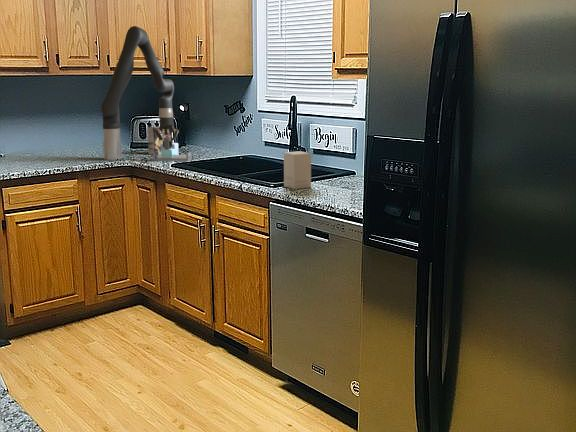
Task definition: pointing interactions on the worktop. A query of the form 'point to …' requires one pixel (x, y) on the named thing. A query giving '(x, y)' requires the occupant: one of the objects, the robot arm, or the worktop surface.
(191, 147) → the worktop surface
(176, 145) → the gauge box
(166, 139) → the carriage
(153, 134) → the coffee box
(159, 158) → the rail
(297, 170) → the supplement box
